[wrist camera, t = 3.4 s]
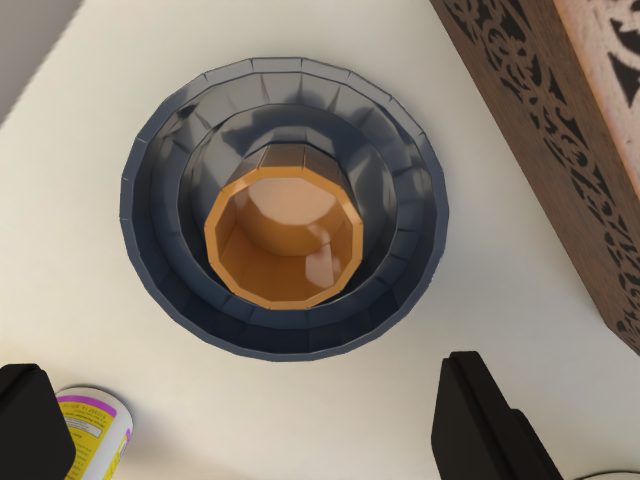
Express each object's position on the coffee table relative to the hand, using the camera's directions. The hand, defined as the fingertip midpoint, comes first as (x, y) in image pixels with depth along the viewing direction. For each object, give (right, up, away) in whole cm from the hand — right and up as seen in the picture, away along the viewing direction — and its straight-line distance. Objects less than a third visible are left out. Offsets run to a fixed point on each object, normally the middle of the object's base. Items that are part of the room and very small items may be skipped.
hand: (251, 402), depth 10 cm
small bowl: (0, +6, +14) cm, 15 cm away
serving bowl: (0, +6, +14) cm, 16 cm away
